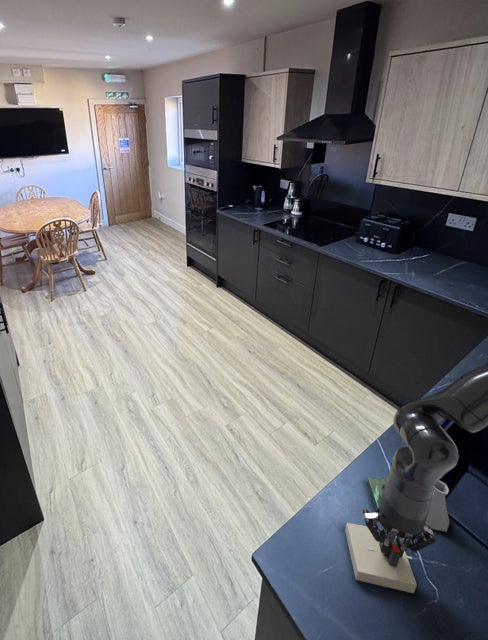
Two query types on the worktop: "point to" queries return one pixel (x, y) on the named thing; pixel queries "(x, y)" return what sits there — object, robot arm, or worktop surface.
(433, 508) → the flask
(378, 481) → the box
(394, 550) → the knob
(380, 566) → the panel
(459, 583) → the worktop surface
